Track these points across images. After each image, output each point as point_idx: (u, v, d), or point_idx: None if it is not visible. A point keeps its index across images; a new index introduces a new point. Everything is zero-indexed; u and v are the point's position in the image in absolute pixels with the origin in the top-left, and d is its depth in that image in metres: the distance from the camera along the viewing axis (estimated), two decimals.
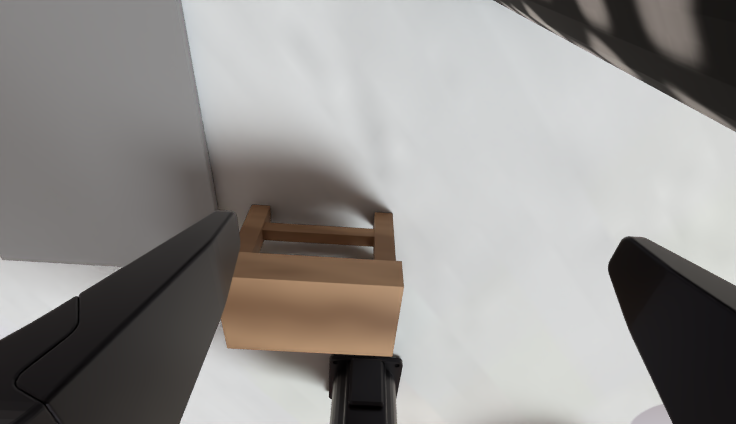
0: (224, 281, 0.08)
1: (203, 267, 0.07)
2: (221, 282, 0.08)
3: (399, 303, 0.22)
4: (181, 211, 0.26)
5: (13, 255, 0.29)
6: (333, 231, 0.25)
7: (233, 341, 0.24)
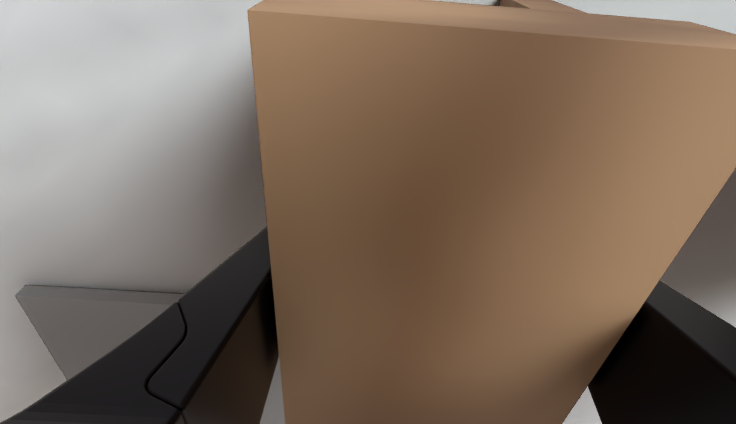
0: None
1: None
2: None
3: (371, 28, 0.04)
4: None
5: None
6: None
7: None
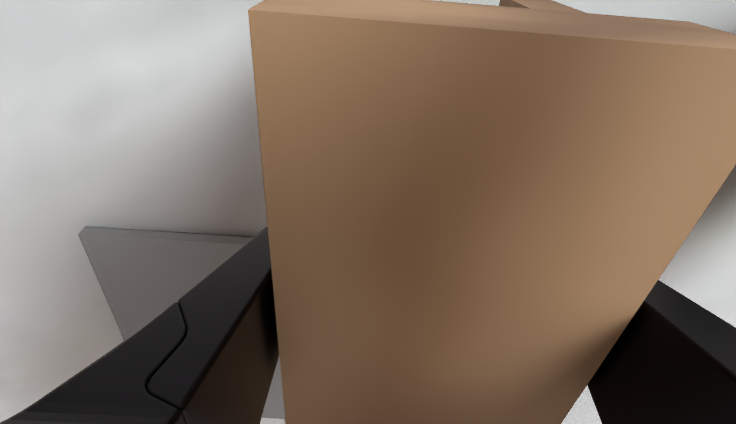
0: None
1: None
2: None
3: (371, 28, 0.04)
4: None
5: None
6: None
7: None
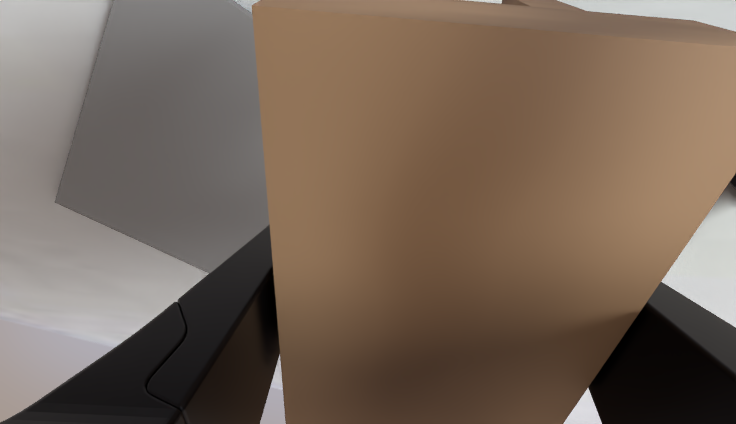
0: None
1: None
2: None
3: (376, 25, 0.04)
4: None
5: None
6: None
7: None
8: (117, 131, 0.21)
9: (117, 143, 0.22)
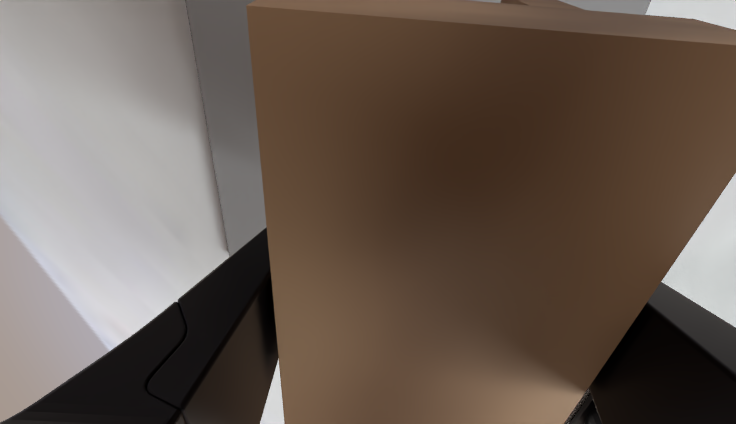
0: None
1: None
2: None
3: (371, 24, 0.04)
4: None
5: None
6: None
7: None
8: None
9: None
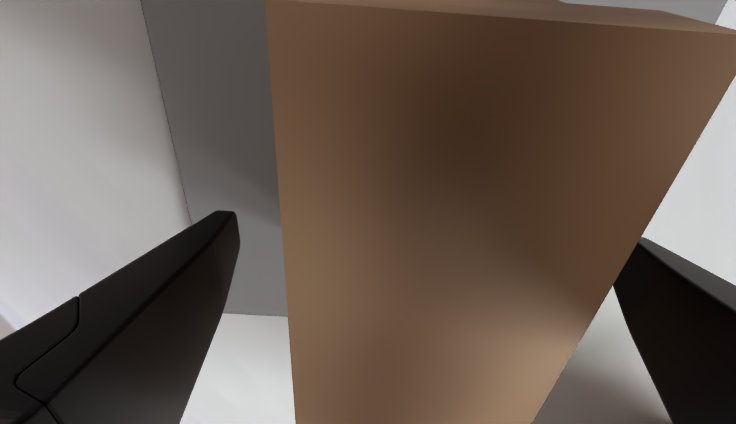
0: (224, 281, 0.08)
1: (204, 267, 0.07)
2: (221, 282, 0.08)
3: (372, 14, 0.05)
4: None
5: (232, 306, 0.18)
6: None
7: None
8: None
9: None
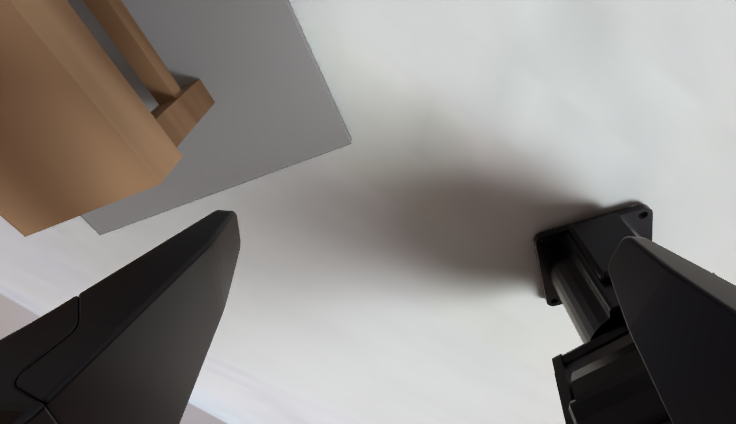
0: (224, 281, 0.08)
1: (203, 267, 0.07)
2: (221, 282, 0.08)
3: None
4: (258, 58, 0.18)
5: (107, 224, 0.23)
6: None
7: (134, 179, 0.13)
8: None
9: None
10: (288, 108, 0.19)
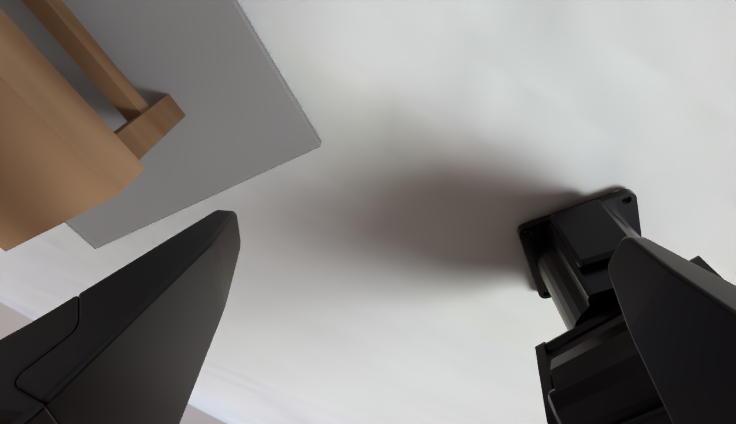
0: (224, 281, 0.08)
1: (203, 267, 0.07)
2: (221, 282, 0.08)
3: None
4: (220, 69, 0.18)
5: (100, 238, 0.24)
6: None
7: (94, 191, 0.14)
8: None
9: None
10: (255, 116, 0.20)
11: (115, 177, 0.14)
